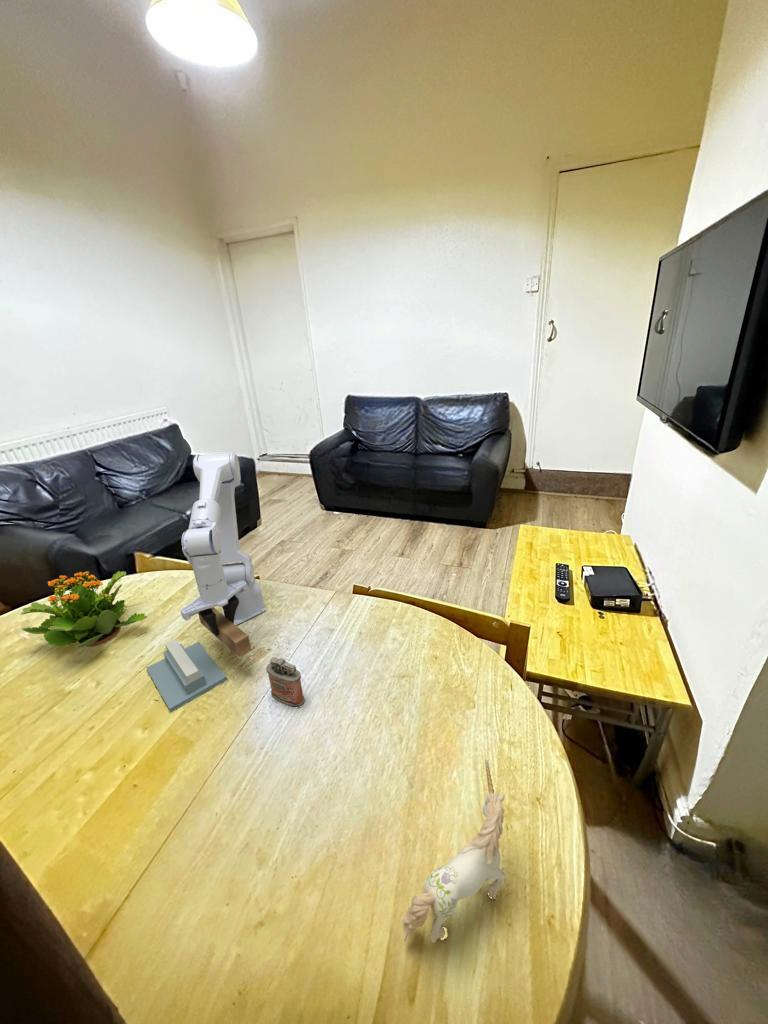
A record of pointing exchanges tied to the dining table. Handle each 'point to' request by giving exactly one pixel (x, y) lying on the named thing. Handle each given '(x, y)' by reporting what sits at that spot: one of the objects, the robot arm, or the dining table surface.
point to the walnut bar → (230, 634)
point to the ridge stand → (184, 674)
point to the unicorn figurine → (462, 872)
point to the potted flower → (81, 612)
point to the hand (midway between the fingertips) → (223, 629)
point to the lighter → (285, 682)
